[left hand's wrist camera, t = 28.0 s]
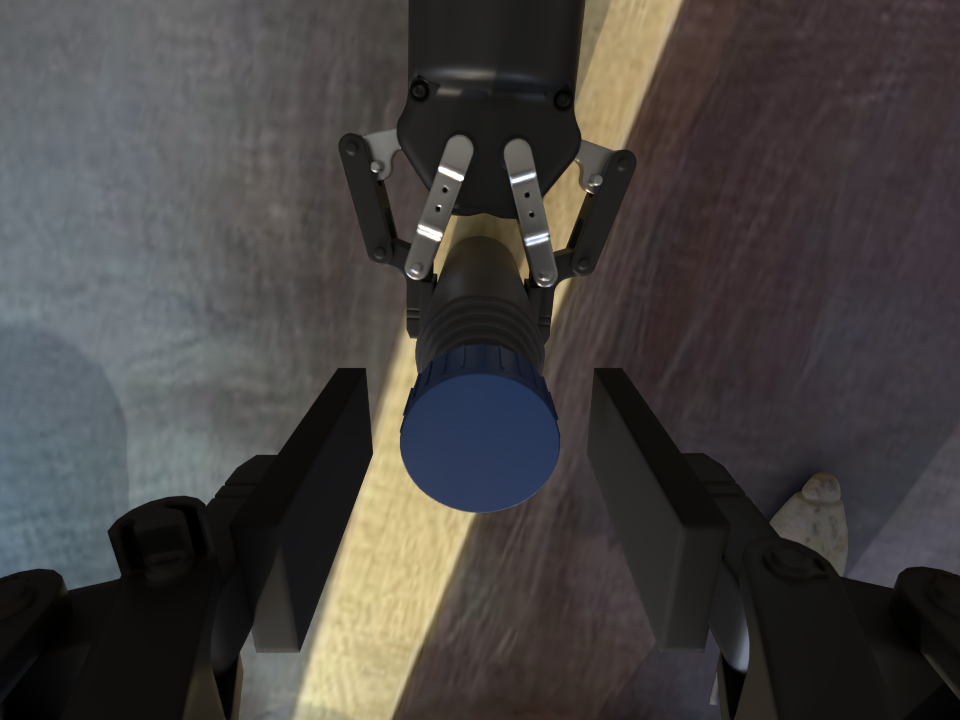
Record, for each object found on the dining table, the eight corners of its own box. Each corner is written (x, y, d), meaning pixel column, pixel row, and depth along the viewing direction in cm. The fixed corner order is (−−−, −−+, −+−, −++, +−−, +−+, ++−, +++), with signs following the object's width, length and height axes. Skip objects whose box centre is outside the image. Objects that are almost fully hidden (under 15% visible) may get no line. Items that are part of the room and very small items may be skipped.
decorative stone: (853, 464, 37) (888, 492, 34) (799, 622, 43) (825, 659, 40) (770, 462, 37) (797, 490, 34) (727, 621, 43) (747, 657, 40)
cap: (468, 493, 16) (466, 540, 14) (378, 397, 14) (363, 434, 12) (579, 420, 15) (594, 460, 13) (493, 312, 14) (495, 337, 12)
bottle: (427, 268, 32) (353, 419, 13) (485, 220, 31) (494, 308, 12) (474, 323, 34) (468, 533, 15) (531, 279, 33) (605, 442, 14)
